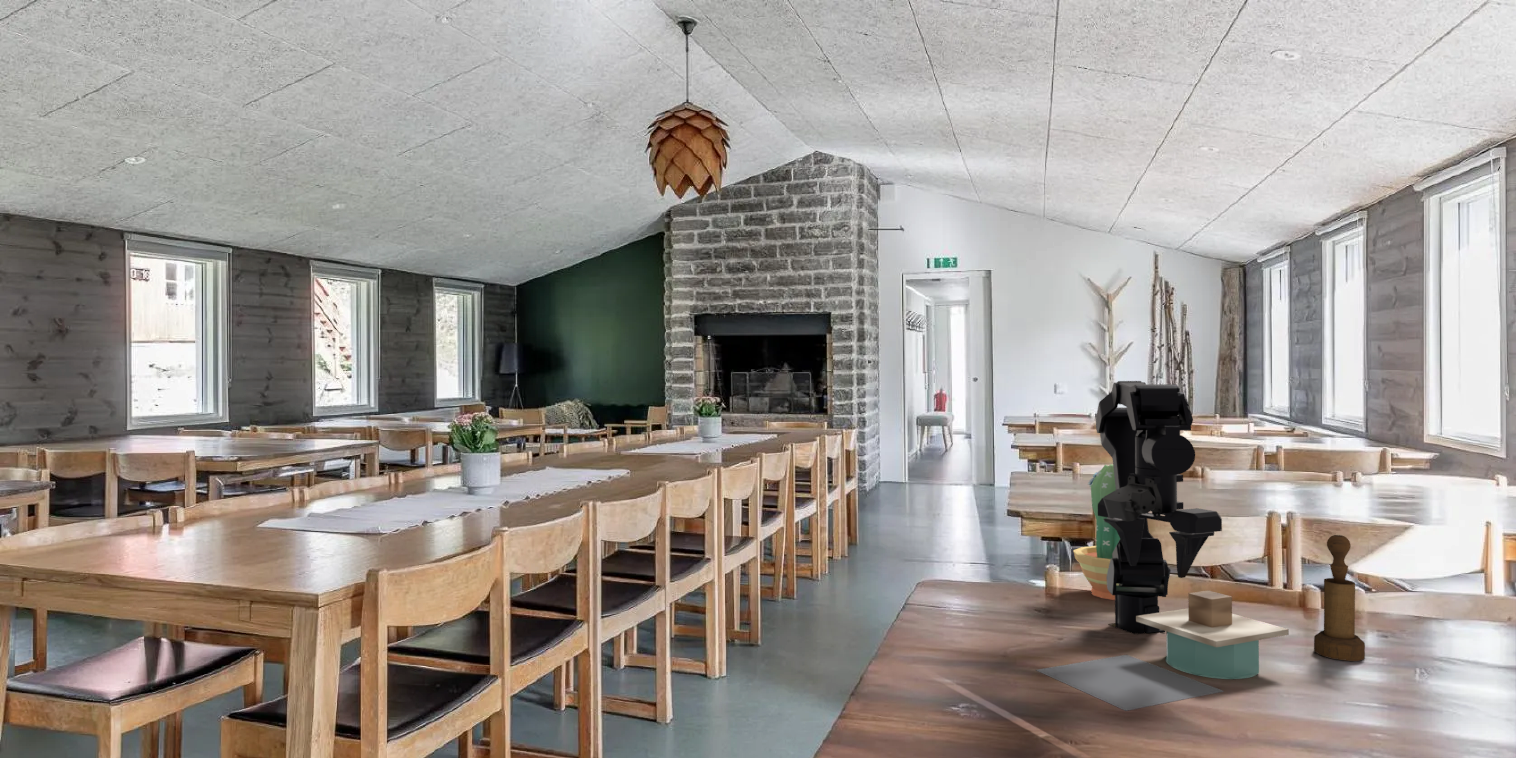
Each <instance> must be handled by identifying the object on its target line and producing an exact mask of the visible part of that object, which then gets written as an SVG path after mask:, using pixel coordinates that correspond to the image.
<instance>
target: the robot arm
mask: <svg viewBox="0 0 1516 758" xmlns="http://www.w3.org/2000/svg"><path fill="white" fill-rule="evenodd" d="M1119 405H1122V406H1123V407H1119ZM1193 421H1194V417H1193V415H1192V410H1191V408H1190V405H1189V401H1188V399H1187V398H1186V396H1185V393H1184V392H1183V391H1181V388H1180V387H1179V386H1178V384H1171V383H1170V384H1163V383H1161V384H1157V383H1156V384H1155V383H1154V384H1147V382H1142V381H1141V380H1118V381H1117V382H1113V384H1112V389H1111V391H1110V392H1109V393H1108V394H1107V395H1106V396H1104V397H1103V398H1102V399H1101V400H1100V401H1099V402H1098V406H1097V412H1096V416H1095V429H1096V430H1095V431H1096V433H1097V434H1099V437H1100V443H1101V444H1100V445H1101V446H1102V448H1103V449H1104V450H1105V451H1106V452H1107V454H1109V457H1111V459H1112V465H1113V468H1114V478H1115V487H1116V490H1115V491H1113V492H1112V493H1110V494H1108V495H1106V496H1104V497H1103V498H1102V499H1101V500H1100V502H1099V503H1098V516H1102V517H1107V518H1105V519H1104V521H1105V522H1107V523H1109V524H1110V525H1111V526H1112V527H1113V528H1115V529H1116V531H1117V533H1118V535H1119V537H1120V540H1119V542H1118V544H1117V545H1116V547H1115V549H1114V551H1113V553H1112V556H1113V558H1111V560H1110V564H1109V568H1108V572H1107V589H1108V591H1109V592H1110V593H1111V594H1112V595H1115V600H1114V605H1115V606H1114V618H1115V619H1114V623H1107V625H1108V626H1110V627H1113V628H1115V629H1119V630H1121V631H1124V632H1127V633H1131V634H1133V635H1144V634H1151V633H1159V634H1162V633H1166V631H1164V630H1161V629H1158V628H1155V627H1152V626H1149V625H1146V624H1143V623H1140V622H1136V616H1140V615H1146V614H1153V613H1160V606H1159V597H1161V598H1167V595H1169V594H1168V593H1169V592H1168V590H1169V588H1168V587H1169V580H1170V576H1171V568H1170V567H1169V565H1168V562H1167V560H1166V559H1164V555H1163V550H1162V549H1163V548H1162V547H1163V546H1162V542H1161V541H1160V539H1159V538H1158V537H1157V538H1155V537H1154V536H1153V535H1152V534H1151V532H1150V530H1149V523H1148V519H1149V520H1154V521H1158V522H1164V523H1168V524H1169V525H1170V527H1171V528H1172V529H1173V530H1174V531H1169V536H1171V538H1172V539H1173V541H1174V542H1175V557H1176V558H1175V559H1176V572H1177V577H1178V578H1180V579H1183V578H1186V577H1187V575H1188V573H1189V571H1190V569H1191V567H1192V566H1193V563H1194V561H1195V560H1196V557H1197V556H1198V554H1199V553H1200V550H1201V549H1202V547H1203V546H1204V544H1205V543H1206V541H1207V540H1208V539H1209V537H1214V536H1215V532H1216V533H1217V532H1222V531H1223V524H1222V523H1223V520H1222V519H1223V518H1222V516H1221V515H1220V514H1219V513H1218V512H1217V511H1216V510H1209V509H1203V508H1198V507H1196V508H1186V509H1184V502H1182V501H1178V483H1183V482H1184V474H1183V473H1186V472H1187V471H1189V469H1190V468H1191V467H1192V466H1193V465H1194V462H1195V459H1196V451H1195V448H1194V445H1192V443H1191V441H1190V440H1189V439H1188V438H1187V437H1184V436H1183V435H1181V431H1192V425H1193ZM1117 583H1118V584H1119V585H1116V584H1117Z"/></svg>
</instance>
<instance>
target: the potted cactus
mask: <svg viewBox="0 0 1516 758" xmlns="http://www.w3.org/2000/svg"><path fill="white" fill-rule="evenodd" d="M1087 485H1089V487H1090V493H1091V507H1092V510H1093V514H1094V516H1095V519H1096V520H1095V521H1096V522H1095V523H1096V524H1095V525H1096V526H1095V527H1096V530H1095V533H1096V534H1095V535H1096V536H1095V537H1096V538H1095V542H1096V543H1095V545H1093V546H1091V545H1090V546H1081V547H1078V548H1076V549H1073V554H1074V559H1075V560H1076V561H1077V562H1078V563H1079V565H1080V569H1081V571H1082V574H1083V576H1084V577H1085V579H1086V581H1088V583H1089V585H1090V586H1091V591H1090V593H1091V592H1092V593H1091V594H1092V596H1094V597H1098V598H1101V599H1106V600H1113V601H1115V595H1112V594H1111V593H1110V592H1109V591H1108V589H1107V572H1108V568H1109V564H1110V560H1111V558H1113V556H1112V553H1113V551H1114V549H1115V547H1116V545H1117V544H1118V542H1119V540H1120V537H1119V535H1118V533H1117V531H1116V529H1115V528H1113V527H1112V526H1111V525H1110V524H1109V523H1107V522H1105V521H1104V519H1105V518H1107V517H1102V516H1098V503H1099V502H1100V500H1101V499H1102V498H1103V497H1104V496H1106V495H1108V494H1110V493H1112V492H1113V491H1115V490H1116V487H1115V478H1114V468H1113V463H1111V464H1109V465H1107V464H1104V466H1103V467H1102V468H1101V470H1099V471H1096V472H1095V473H1094V474H1092V477H1091V478H1090V479H1089V481H1088V482H1087ZM1116 585H1119V584H1118V583H1117V584H1116Z"/></svg>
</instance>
